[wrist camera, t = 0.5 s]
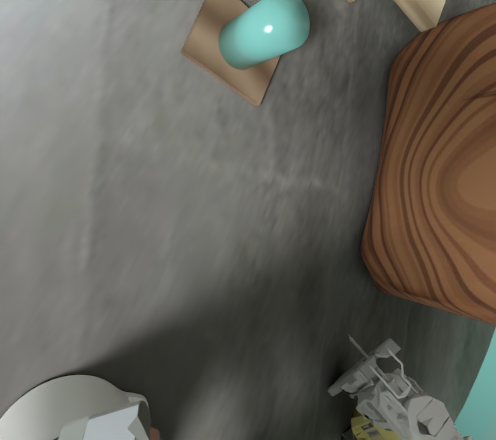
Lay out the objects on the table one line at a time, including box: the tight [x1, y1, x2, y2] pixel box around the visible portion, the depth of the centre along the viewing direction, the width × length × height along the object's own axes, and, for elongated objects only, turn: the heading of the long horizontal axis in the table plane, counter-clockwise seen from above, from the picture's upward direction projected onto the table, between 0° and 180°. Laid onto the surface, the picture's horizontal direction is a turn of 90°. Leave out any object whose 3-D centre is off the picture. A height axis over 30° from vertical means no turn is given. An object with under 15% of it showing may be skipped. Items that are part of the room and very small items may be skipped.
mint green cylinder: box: [218, 0, 310, 70], centre depth 47 cm, size 6×6×10 cm
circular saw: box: [327, 335, 472, 440], centre depth 63 cm, size 10×30×25 cm
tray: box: [181, 0, 281, 106], centre depth 52 cm, size 10×12×1 cm
